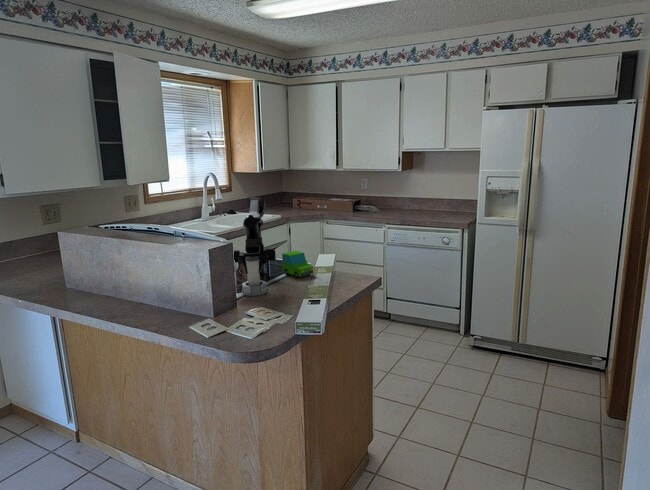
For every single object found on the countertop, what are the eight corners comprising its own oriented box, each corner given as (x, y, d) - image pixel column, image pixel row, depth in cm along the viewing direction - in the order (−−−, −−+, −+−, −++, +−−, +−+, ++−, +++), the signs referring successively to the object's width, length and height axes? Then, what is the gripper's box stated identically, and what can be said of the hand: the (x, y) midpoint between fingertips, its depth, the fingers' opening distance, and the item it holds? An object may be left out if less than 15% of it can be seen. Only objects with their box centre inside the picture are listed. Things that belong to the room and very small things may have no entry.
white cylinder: (256, 284, 189) (254, 254, 187) (263, 287, 186) (261, 256, 183) (245, 287, 186) (243, 257, 183) (252, 290, 182) (250, 259, 179)
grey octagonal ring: (251, 286, 193) (251, 278, 193) (273, 289, 188) (272, 281, 188) (235, 294, 184) (235, 285, 183) (257, 297, 179) (257, 288, 178)
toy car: (298, 280, 201) (297, 258, 199) (281, 274, 211) (280, 254, 209) (316, 275, 208) (315, 254, 206) (298, 270, 217) (297, 250, 215)
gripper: (228, 231, 184) (227, 264, 175) (273, 229, 185) (275, 262, 177) (231, 246, 193) (231, 278, 185) (275, 244, 195) (276, 275, 186)
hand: (253, 273), depth 183 cm, fingers closed on white cylinder, 5 cm apart
